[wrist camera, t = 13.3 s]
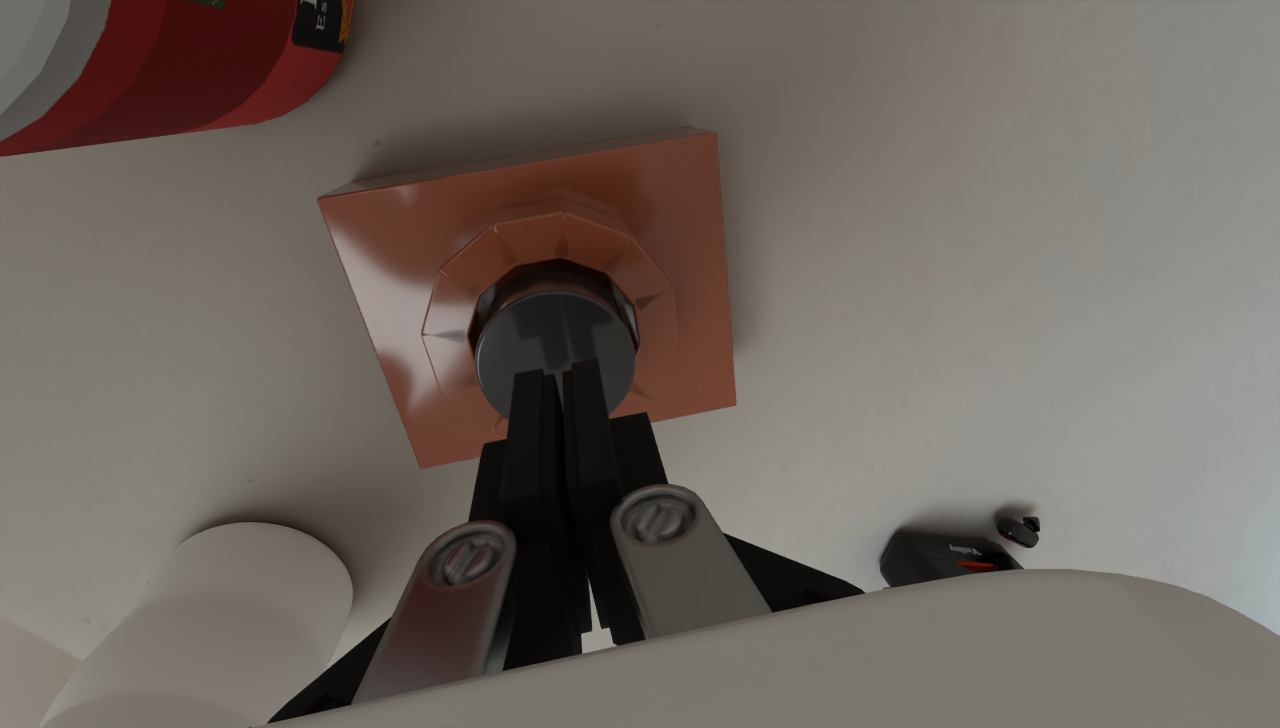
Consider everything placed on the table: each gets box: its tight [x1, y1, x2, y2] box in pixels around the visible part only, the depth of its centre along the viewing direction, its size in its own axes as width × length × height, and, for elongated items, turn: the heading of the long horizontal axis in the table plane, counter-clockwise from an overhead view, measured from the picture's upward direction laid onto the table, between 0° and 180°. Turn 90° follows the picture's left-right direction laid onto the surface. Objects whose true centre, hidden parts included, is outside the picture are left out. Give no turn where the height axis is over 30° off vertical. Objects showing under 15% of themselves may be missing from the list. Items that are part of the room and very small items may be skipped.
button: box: [475, 268, 636, 421], centre depth 15 cm, size 4×4×2 cm
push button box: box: [317, 126, 736, 469], centre depth 18 cm, size 11×9×5 cm
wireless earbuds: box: [880, 517, 1040, 587], centre depth 27 cm, size 5×7×3 cm, turn 76°
